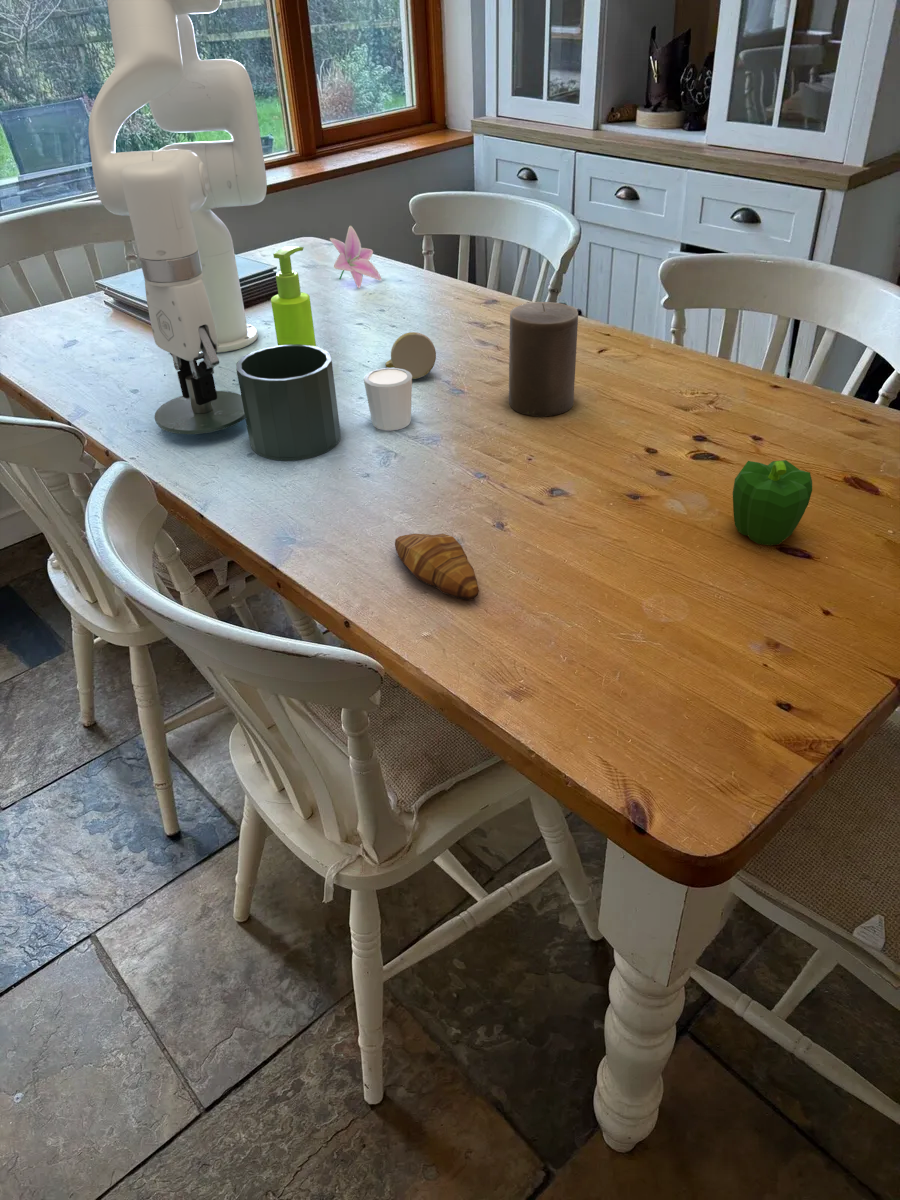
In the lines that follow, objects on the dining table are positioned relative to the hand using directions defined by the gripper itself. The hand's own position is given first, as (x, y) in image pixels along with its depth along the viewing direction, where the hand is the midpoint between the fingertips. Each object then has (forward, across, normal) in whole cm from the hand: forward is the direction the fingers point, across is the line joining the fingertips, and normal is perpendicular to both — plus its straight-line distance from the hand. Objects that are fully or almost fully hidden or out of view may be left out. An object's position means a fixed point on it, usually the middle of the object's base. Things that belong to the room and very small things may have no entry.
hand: (200, 397), depth 125 cm
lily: (+4, -35, +58) cm, 68 cm away
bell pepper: (+5, +74, +28) cm, 79 cm away
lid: (+2, 0, 0) cm, 2 cm away
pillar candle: (+5, +32, +38) cm, 50 cm away
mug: (+4, +8, +34) cm, 35 cm away
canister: (+4, +14, +6) cm, 16 cm away
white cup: (+5, +20, +19) cm, 28 cm away
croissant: (+5, +52, -3) cm, 52 cm away
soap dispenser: (+4, -3, +20) cm, 21 cm away
